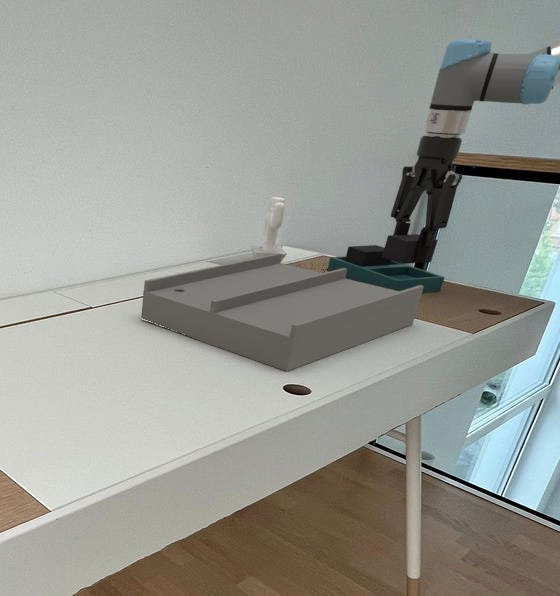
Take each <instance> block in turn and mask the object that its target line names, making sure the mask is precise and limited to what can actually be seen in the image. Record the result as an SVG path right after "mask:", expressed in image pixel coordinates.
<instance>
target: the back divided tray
mask: <svg viewBox="0 0 560 596" xmlns="http://www.w3.org/2000/svg"><path fill="white" fill-rule="evenodd" d="M345 259H346V255H341V256H330V257H329V261H328V265H327V272H330V271H334V270H338V269H342V268H346V269H347V272H346V277H345V278H346V279H349V280H353V281H357V282H362V283H366V284H370V285H374V286H379V287H383V288H387V289H391V290H395V291H402V290H406V289H409V288H412V287H415V286H419V285H421V286H424V288H423V291H422V294H425V293H433V292H440V291H441V290H442V287H443V284H444V281H445V276H443V275H439V274H437V273H433V272H431V271H427V270H425V269H421V268H418V267H414V266H412V265H409V264H401V263H398V262H395V261H392V260H391V263H390V265H384V266H369V267H360V266H357V265H355V264H352V263H349V262H346V261H345Z"/></svg>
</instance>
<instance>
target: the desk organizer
mask: <svg viewBox="0 0 560 596" xmlns="http://www.w3.org/2000/svg"><path fill="white" fill-rule="evenodd" d="M281 256H282V254H279V253H278V254H273V255H268V256H263V257H258V258H254V257H253V258H248V259H245V260H239V261H234V262H230V263H225V264H220V265H216V266H210V267H205V268H200V269H195V270H190V271H185V272H180V273H175V274H171V275H165V276H159V277H156V278H155V277H154V278H151V279H146V280H144V282H143V283H144V284H143V291H142V305H141V316H140V317H141V318H143V319H145V320H148V321H151V322H153V323H156V324H158V325H161V326H164V327H166V328H169V329H172V330H174V331H177V332H180V333H183V334H185V335H188V336H190V337H192V338H191V339H193V338H195V339H194V340H196V339H197V340H196V341H199V340H200V342H202V343H205V344H207V345H211V346H214V347H216V348H220V349H222V350H225V351H227V352H231V353H234V354H236V355H239V356H242V357H244V358H248V359H250V360H253V361H256V362H259V363H261V364H265V365H267V366H270V367H273V368H275V369H278V370H282V371H284V372H290V371H292V370H295V369H298V368H300V367H303V366H305V365H308V364H311V363H315V362H316V361H319V360H321V359H324V358H328V357H330V356H333V355H335V354H337V353H340V352H343V351H346V350H348V349H351V348H354V347H356V346H357V347H358V346H359V345H362V344H364V343H367V342H370V341H373V340H375V339H378V338H380V337H383V336H387V335H389V334H391V333H393V332H397V331H399V330H401V329H402V330H403V329H405V328H407V327H410V326H412V325H413V324H414V321H415V318H416V315H417V311H418V309H419V305H420V302H421V299H422V294H423V293H422V291H423V288H424V286H421V285H419V286H415V287H412V288H409V289H406V290H402V291H395V290H391V289H387V288H383V287H379V286H374V285H370V284H366V283H362V282H357V281H354V280H352V279H349V278H347V277H346V272H347V269H346V268H342V269H338V270H334V271H326V272H319V271H314V270H311V269H310V270H309V269H306V268H301V267H298V266H294V265H289V264H285V263H282V261H281ZM280 262H281V263H280ZM141 318H140V319H141ZM185 335H184V336H185ZM188 336H187V337H188ZM190 337H189V338H190Z"/></svg>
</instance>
